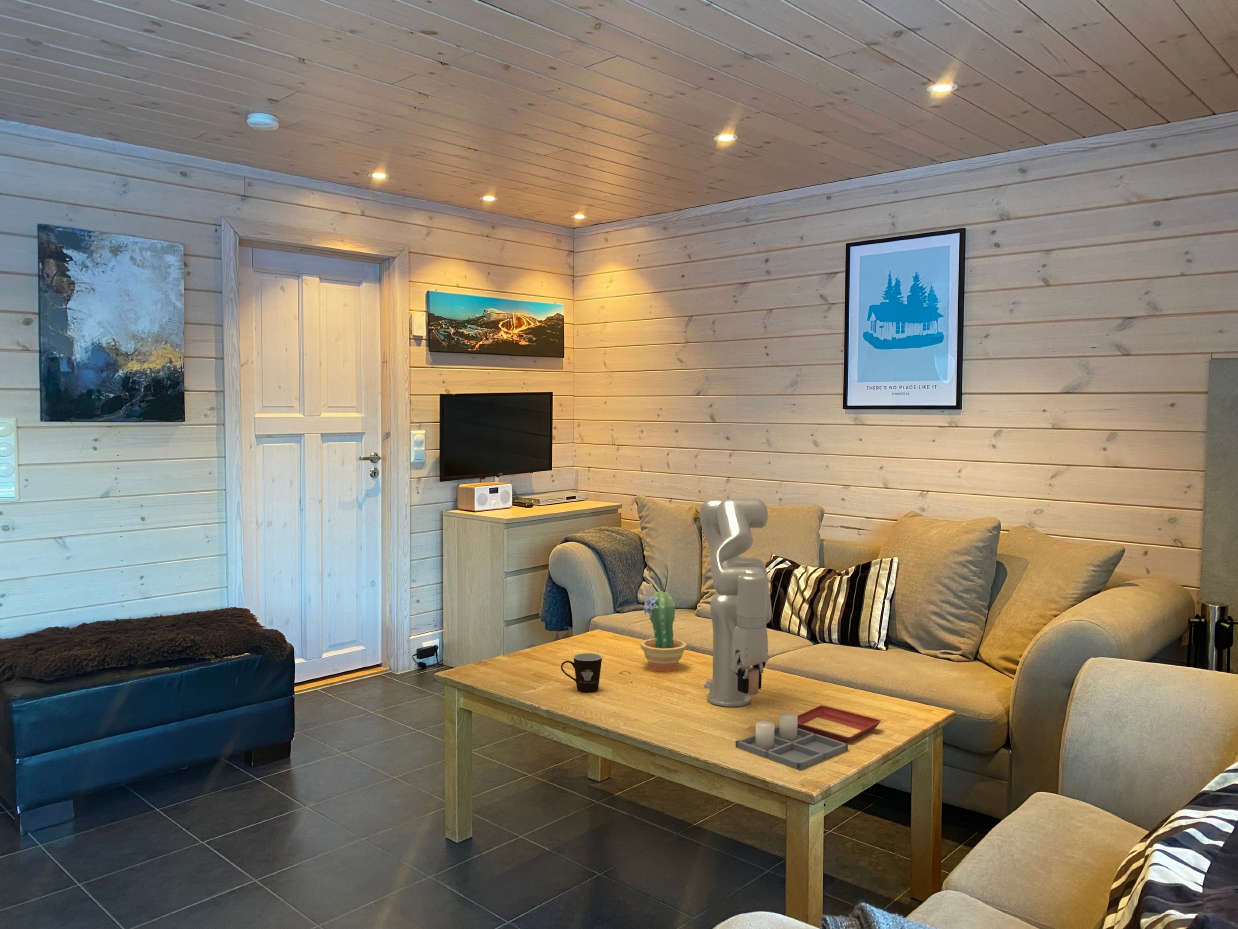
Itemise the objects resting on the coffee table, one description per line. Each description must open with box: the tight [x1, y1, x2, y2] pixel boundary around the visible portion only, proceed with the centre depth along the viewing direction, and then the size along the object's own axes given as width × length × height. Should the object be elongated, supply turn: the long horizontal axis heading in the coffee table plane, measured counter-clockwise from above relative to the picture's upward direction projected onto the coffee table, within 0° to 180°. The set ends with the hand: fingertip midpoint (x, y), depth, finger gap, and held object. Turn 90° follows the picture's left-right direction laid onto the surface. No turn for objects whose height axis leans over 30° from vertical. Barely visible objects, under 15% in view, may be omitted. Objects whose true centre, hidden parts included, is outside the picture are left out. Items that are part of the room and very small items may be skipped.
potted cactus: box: [639, 590, 688, 673], centre depth 299 cm, size 15×15×25 cm
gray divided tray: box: [735, 725, 849, 771], centre depth 225 cm, size 19×19×2 cm
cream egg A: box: [754, 720, 776, 751], centre depth 225 cm, size 5×5×6 cm
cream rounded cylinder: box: [778, 712, 798, 742], centre depth 231 cm, size 5×5×6 cm
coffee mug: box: [560, 652, 603, 694], centre depth 275 cm, size 12×9×10 cm
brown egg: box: [741, 666, 759, 696], centre depth 238 cm, size 5×5×6 cm
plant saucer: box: [797, 704, 882, 744], centre depth 241 cm, size 18×18×3 cm
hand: (749, 689), depth 238 cm, fingers closed on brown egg, 4 cm apart
